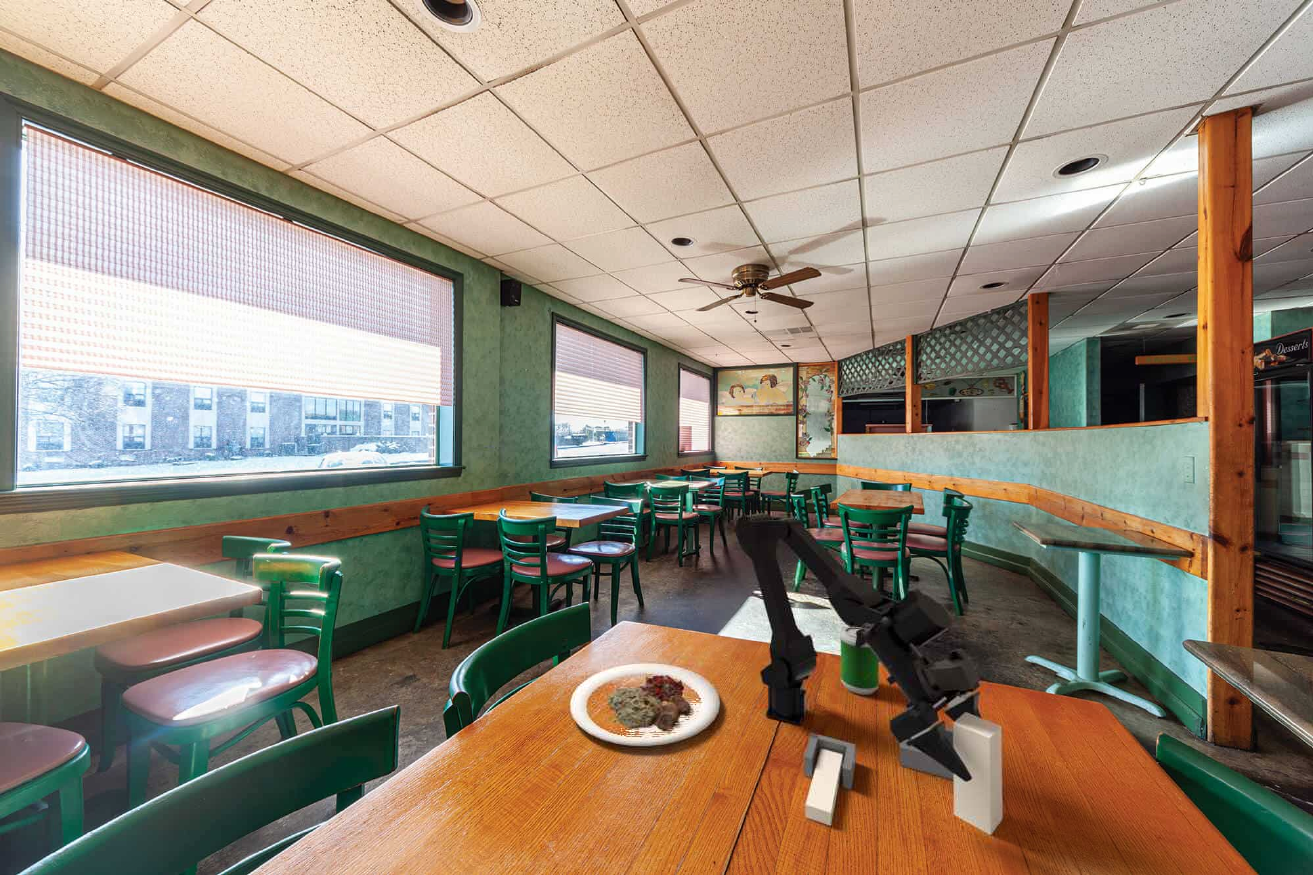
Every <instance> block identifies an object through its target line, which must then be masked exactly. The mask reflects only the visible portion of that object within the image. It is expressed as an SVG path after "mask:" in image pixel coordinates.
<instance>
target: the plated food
mask: <svg viewBox="0 0 1313 875" xmlns="http://www.w3.org/2000/svg"><path fill="white" fill-rule="evenodd" d="M642 674H653V675H656V676H652V678H650V677H649V678H648V677H646V680H645V681H646V682H645V683H644V685H642V686H638V687H631V688H627V687H620V688H618V689H617V690H615V692H614V694H613V695H609V696H610V697H609V699H608V700H609V701H608V703H607V704H608V705H610V706H611V707H610V709H611V710H613V711H616V714H615V715H616V716H613V717H615V718H616V719H617V718H618V720H614V721H613V723H614V722H616V721H619V722H620V723H621V724H622V725H624V727H627V728H629V729H632V730H626V731H629V732H635V731H639V732H646V733H638V734H644V735H636V736H642V737H631V736H635V735H626V736H630V737H626V736H624V735H622V736H621V735H617V734H613V733H610V732H608V731H606V730H604V729H602V728H600V727H599V726H597V725H596V724H595V723H594V722H593V721H592V720H591V719H590V717H589V715H588V713H587V701H588V698H589V696H591V694H592V692H594V690H596V689H598V687H600V686H602V685H603V684H605V683H608V682H609V681H612V680H613V679H617V678H619V677H624V676H626V675H642ZM657 675H659V676H657ZM660 675H662V676H660ZM674 679H677V680H678V682H677V681H675V680H674ZM682 683H685V684H686V685H688V686H689V687H691V689H693V690H695V692H697V694H698V695H699V697H700V698H701V699H700V700H701V701H699V702H702V703H698V702H697V703H689V702H687V701H686V700H685V698H684V697H682V694H683V691H682V690H684V685H683V684H682ZM619 690H622V691H619ZM696 700H698V699H696ZM663 701H667V702H668V703H667V704H665V705H662V702H663ZM569 702H570V706H569V707H570V708H569V709H570V714H571V716H572V718H573V720H574V721H575V723H576V724H577V725H578V726H579V727H580V729H582V730H584V731H585V732H587V733H588V734H589V735H591V736H594V737H596V738H597V739H600V740H603V741H606V742H608V743H609V742H610V743H612V744H613V743H614V744H616V745H617V744H618V745H625V746H632V747H633V746H635V747H636V746H639V747H651V746H659V745H660V746H661V745H667V744H672V743H676V742H680V741H684V740H686V739H688V738H691V737H693V736H695V735H697V734H699V733H701V732H702V731H703V730H705V729H706V728H708V727H709V726H710V725H711V723H713V721H715V719H716V718H717V715H718V713H720V712H719V710H720V706H721V701H720V696H719V693H718V691H717V690H716V688H715V686H714V685H713V684H712V683H711V682H710V681H709V680H708V679H706V678H704V677H703V676H702V675H700V674H698V673H696V672H693V671H692V670H689V669H686V668H682V667H679V666H676V665H675V666H674V665H670V664H662V663H661V664H660V663H634V664H633V663H632V664H625V665H620V666H616V667H612V668H608V669H605V670H603V671H600V672H597V673H596V674H593V675H592V676H590V677H588V678H587V679H586V680H584V681H583V682H582V683H581V684H579V685H578V686H577V688H576V689H575V691H573V694H572V696H571V699H570V701H569ZM692 702H696V701H692ZM690 704H693V705H690ZM695 704H696V705H695ZM690 706H692V707H690ZM612 707H613V708H612ZM690 711H694V712H690ZM697 711H698V712H697ZM689 713H693V714H689ZM680 715H685V716H680ZM689 715H692V716H689ZM613 717H610V718H609V719H611V718H613ZM679 717H686V718H679ZM688 717H690V718H688ZM607 719H608V718H607ZM678 719H679V720H678ZM685 719H689V720H685ZM681 721H684V722H681ZM675 723H679V724H675ZM652 725H656V726H652ZM646 727H647V728H646ZM648 727H652V728H648ZM673 727H679V728H673ZM621 729H622V728H621ZM635 729H639V730H635ZM661 729H662V730H661ZM669 729H672V730H669ZM621 731H622V730H621ZM655 731H656V732H662V731H671V732H676V733H671V734H667V733H649V732H655ZM627 734H628V733H627ZM630 734H635V733H630ZM653 734H660V735H653ZM661 734H665V735H661ZM652 736H660V737H652Z"/></svg>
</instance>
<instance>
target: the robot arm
mask: <svg viewBox="0 0 1313 875" xmlns="http://www.w3.org/2000/svg"><path fill="white" fill-rule="evenodd" d="M734 533H735V536H736V538H737V541H738V543H739V546H740V549H742V551H743V552H744V553H745V554H746V555H747V556H748V558H749V559H751V560H750V561H751V562H752V565H753V568H754V569H753V570H754V572H755V576H756V580H757V583H758V586H759V590H760V593H761V597H762V600H763V601H762V602H763V605H764V608H765V612H766V615H767V619H768V622H769V626H770V629H771V639H770V643H769V657H770V662H771V663H769V664H768V665H767V666H765V667H764V668H763V669H762V670H760V673H759V674H760V678H761V683H763V685H766V686H767V696H768V697H767V700H768V701H767V702H768V703H767V704H768V705H767V710H766V711H765V716H766V717H768V718H771V719H775V720H779V721H782V722H786V723H790V724H792V725H793V724H794V725H801V723H802V720H803V718H804V717H806V714H807V711H808V710H807V704H808V702H807V691H806V689H804V681H805V680H806V681H807V680H809V679H810V675H811V674H813V672H814V671H815V670H816V667H817V664H818V663H817V657H818V656H819V654H818V653H817V651H816V649H815V647H814V641H813V637H812V635H811V634H806V635H805V634H804V633H803V632H802V631H801V630H800V629H799V628H798V625H797V622H796V619H795V616H794V613H793V609H792V605H791V602H790V598H789V596H788V591H787V589H786V586H785V582H784V578H783V575H782V572H781V571H782V570H781V569H780V565H779V562H778V558H777V554H776V553H777V549H778V548H777V547H778V541H779V540H781V541H783V542H784V544H785V545H786V546H787V547H788V548H789V550H791V551H792V553H793V554H794V555H795V556H796V557H797V558H798V559H799V561H801V563H802V565H804V566H805V567H806V568H807V569H808V570H809V572H810V573H811V574H812V575H813V576H814V577H815V578H816V580H817V581H818V582H819V583H820V584H821V585H822V586H823V588H824V589H825V592H826V594H827V597H828V598H827V599H828V602H829V604H830V605H831V607H832V608H833V609H834V610H833V611H834V612H835V613H836V614H837V616H838V617H839V618H840V619H839V620H841V621H842V622H843V623H844V624H845V625H847V626H849V627H861V628H862V629H860V630H858V631H856V635H857V637H856V643H855V647H856V648H857V649H859V648H861V647H863V646H865V645H867V644H868V645H869V647H870V648H871V650H872V651H873V652H874V654H875V655H876V656H877V658H878V661H879V662H880V663H881V665H882V666H883V668H884V669H885V670H886V671H887V673H888V674H889V676H888V677H887V678H886V680H887V683H888V684H890V686H891V685H893V684H894V683H896V685H897V686H898V688H899V689H900V691H901V692H902V694H903V695H904V696H905V697H906V699H907V700H908V701H909V702H907V703H905V707H906V709H905V710H903V711H901V712H900V713H898V714H896V716H894V717H893V718H891V719H890V720H889V731H890V733H891V735H892V736H893V737H894V738H895V740H896V741H897V743H898V744H900V743H901V742H903V741H905V740H907V739H908V741H907V742H906V745H907V746H913V747H915V748H916V749H918V750H920V751H921V752H923V753H924V754H926V755H928V756H929V757H931V758H932V759H934V760H935V761H937V762H938V763H940V764H941V765H942V766H944V767H945V768H947V769H948V770H950V771H951V772H952V773H954V774H955V775H957V776H958V777H959V778H961V779H962V780H964V781H965V782H968V781H970V780H971V779H972V776H971V775H970V773H969V771H968V769H967V768H966V766H965V764H964V763H963V761H962V760H961V758H960V757H959V755H958V754H957V752H956V751H955V749H954V748H953V746H952V745H951V743H950V742H949V740H948V739H947V737H946V732H945V727H946V722H945V720H942V721H940V722H938V721H939V720H940V718H939V715H938V712H940V711H941V710H942V709H943V708H945V707H947V709H945V710H944V711H943V713H944V714H945V715H946V716H947V717H948V718H949V719H950V720H951V721H952V722H953V723H954V722H955V721H956V720H957V719H958V718H959V717H961V716H962V715H963V714H964V713H965V712H967V713H969V714H972V715H974V716H977V717H979V718H982V719H983V717H982V715H981V712H980V711H979V700H980V699H979V698H980V696H981V691H980V690H978V691H977V689H978V688H979V687H981V684H980V682H981V679H980V677H979V675H978V673H977V671H976V669H978V667H979V664H978V662H977V661H975V660H973V658H972V656H970V655H969V654H968V653H967V652H966V651H965V650H964V649H963V648H959V649H953V650H951V651H949V652H948V657H947V658H946V659H944V660H941V661H940V660H939V661H935V660H934V659H933V658H932V656H931V655H929V654H927V653H925V654H923V655H922V654H920V652H919V651H918V650H917V648H916V647H923V646H924V645H925V646H926V644H927V643H929V642H930V641H932V640H934V639H935V638H936V637H938V636H940V635H941V634H943V633H944V632H946V631H947V630H948V629H950V628H952V619H951V616H950V615H949V613H948V611H947V610H946V608H944V606H943V605H942V604H941V603H940V602H937V601H936V600H935V599H934V598H932V597H931V596H928V595H927V594H923V593H922V592H921V590H920V589H919V588H914V589H912V590H910V591H909V592H907V593H905V595H904V597H903V598H902V599H900V600H899V601H898V600H895V599H893V598H890V597H888V596H885V595H882V594H881V593H880V592H879V591H878V590H877V589H876V588H875V587H873V585H871V584H870V583H868V582H867V581H866V580H864V579H863V578H861V577H860V576H858V575H855V574H853V573H851V572H849V570H846V569H845V567H844V566H842V565H841V564H840V563H839V561H837V560H836V559H835V557H834V556H833V555H832V554H831V553H830V552H829V551H828V550H827V549H826V547H824V546H823V545H822V544H821V543H820V541H818V539H816V537H815V536H814V535H813V534H812V533H811V532H810V531H809V530H808V529H807V528H806V527H805V526H804V523H803V522H802V520H801V519H799V518H797V517H794V516H791V517H782V516H781V517H780V516H779V517H773V516H771V515H769V513H765V512H763V513H755V514H754V513H753V514H749V515H748V514H747V515H741V516H740V517H738V519H737V520H736V523H735V525H734ZM886 619H887V620H888V622H887V623H884V622H882V621H883V620H886ZM867 624H871V625H872V626H871V627H869V628H865V629H864V627H863V626H864V625H867ZM867 629H868V630H867ZM915 646H916V647H915ZM975 691H976V692H975ZM909 738H911V739H909Z"/></svg>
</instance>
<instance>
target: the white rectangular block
mask: <svg viewBox="0 0 1313 875" xmlns="http://www.w3.org/2000/svg"><path fill="white" fill-rule="evenodd" d="M952 728H953V748H954V749H955V751H956V752H957V754H958V755H959V757H960V758H961V760H962V761H963V763H964V764H965V766H966V768H967V769H968V771H969V773H970V775H971V776H972V779H971V780H970V781H968V782H965V781H964V780H962V779H961V778H959V777H958V776H957V775H955V774H954V780H953V815H954V816H956V817H957V818H959V819H961V820H962V821H965V823H966V822H967V823H968V824H970V825H972V826H973V827H976V828H977V829H978V830H981V831H983V832H984V833H986V834H987V835H990V836H991V835H992V834H993V833H994V831H995V830H996V829H997V827H998V826H999V824H1000V823H1001V822H1002V821H1003V776H1002V775H1003V759H1002V758H1003V757H1002V754H1003V753H1002V751H1003V750H1002V749H1003V747H1002V725H999V724H997V723H994V722H992V721H989V720H986V719H984V718H983V717H982V718H979V717H977V716H974V715H972V714H969V713H967V712H965V713H964V714H963V715H962V716H961V717H959V718H958V719H957V720H956V721H955V722H954V721H953V723H952Z"/></svg>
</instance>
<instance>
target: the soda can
mask: <svg viewBox="0 0 1313 875" xmlns="http://www.w3.org/2000/svg"><path fill="white" fill-rule="evenodd" d="M862 628H864V627H861V626H859V627H854V626H849V627H846V628H844V630H842V632H841V633H840V681H841V683H842V684H843V686H844V687H845V688H846V689H847V690H848V691H849V692H850V693H854V694H857V695H863V696H865V695H867V696H868V695H872V694H874V692H876V691H878V688H879V684H880V683H879V682H880V681H879V680H880V679H879V678H880V677H879V673H880V672H879V659H878V658H877V656H876V655H875V654H874V652H873V651H872V650H871V648H870V647H869V645H868V644H867V645H865V646H863V647H861V648H859V649H857V648H856V647H855V643H856V637H857V635H856V631H858V630H860V629H862ZM864 629H867V630H868V629H869V628H864Z"/></svg>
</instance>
